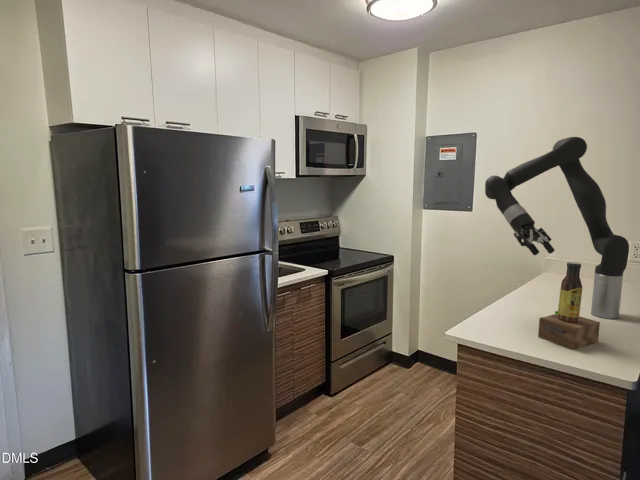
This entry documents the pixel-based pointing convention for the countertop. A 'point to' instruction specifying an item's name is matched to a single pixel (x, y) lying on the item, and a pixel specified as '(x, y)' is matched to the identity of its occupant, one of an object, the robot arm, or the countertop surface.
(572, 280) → the sauce bottle
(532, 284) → the countertop surface
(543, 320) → the walnut box
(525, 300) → the countertop surface
